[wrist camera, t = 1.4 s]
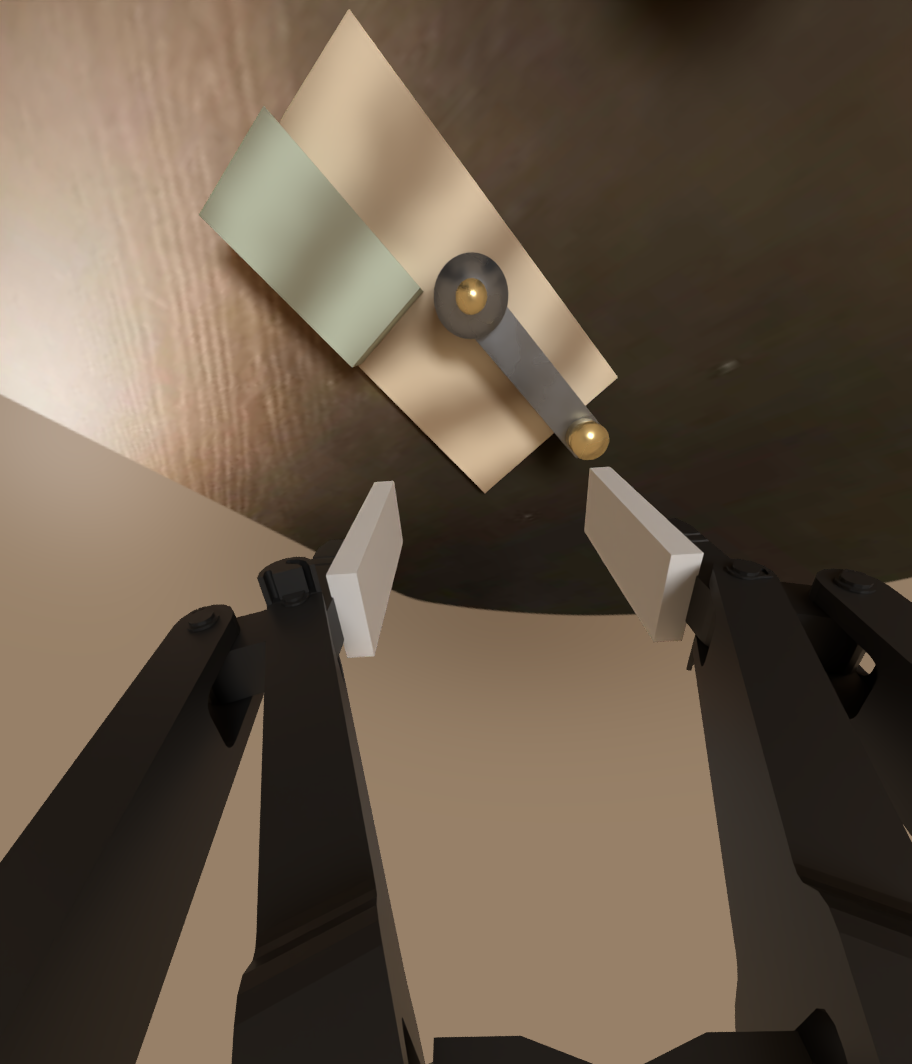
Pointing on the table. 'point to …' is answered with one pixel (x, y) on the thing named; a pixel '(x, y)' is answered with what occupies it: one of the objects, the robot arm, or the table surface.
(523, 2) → the table surface
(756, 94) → the table surface
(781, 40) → the table surface
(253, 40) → the table surface
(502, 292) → the latch bar
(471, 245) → the board
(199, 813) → the robot arm
